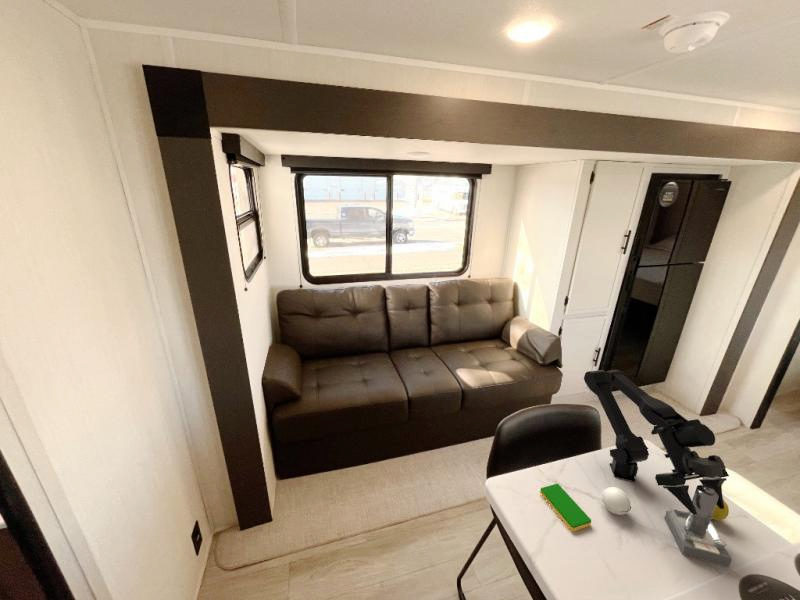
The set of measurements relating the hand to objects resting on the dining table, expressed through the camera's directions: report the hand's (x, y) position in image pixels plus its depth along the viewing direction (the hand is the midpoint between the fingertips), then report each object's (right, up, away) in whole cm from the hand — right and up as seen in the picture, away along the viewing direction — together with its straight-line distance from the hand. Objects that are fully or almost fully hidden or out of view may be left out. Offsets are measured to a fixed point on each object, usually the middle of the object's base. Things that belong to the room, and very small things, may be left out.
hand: (708, 511), depth 86 cm
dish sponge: (-32, -9, +14) cm, 36 cm away
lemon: (+11, -9, +10) cm, 18 cm away
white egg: (-16, -8, +13) cm, 22 cm away
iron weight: (0, -7, +4) cm, 8 cm away
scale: (-1, -11, +4) cm, 11 cm away
